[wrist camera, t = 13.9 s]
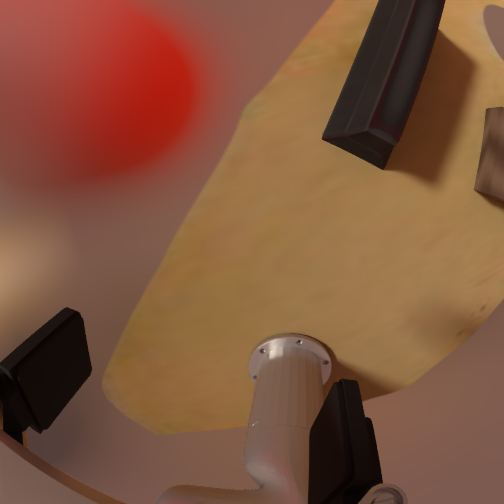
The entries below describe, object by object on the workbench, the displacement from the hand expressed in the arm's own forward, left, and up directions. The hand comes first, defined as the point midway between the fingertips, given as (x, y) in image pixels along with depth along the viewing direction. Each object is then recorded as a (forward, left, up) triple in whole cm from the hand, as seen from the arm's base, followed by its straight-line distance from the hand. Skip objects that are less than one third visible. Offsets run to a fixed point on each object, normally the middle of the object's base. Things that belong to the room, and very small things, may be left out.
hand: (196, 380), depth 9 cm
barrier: (+21, -11, -29) cm, 37 cm away
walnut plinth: (+16, -33, -28) cm, 46 cm away
